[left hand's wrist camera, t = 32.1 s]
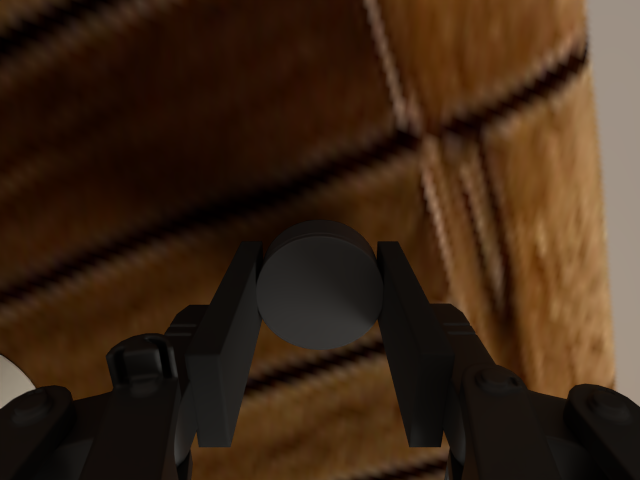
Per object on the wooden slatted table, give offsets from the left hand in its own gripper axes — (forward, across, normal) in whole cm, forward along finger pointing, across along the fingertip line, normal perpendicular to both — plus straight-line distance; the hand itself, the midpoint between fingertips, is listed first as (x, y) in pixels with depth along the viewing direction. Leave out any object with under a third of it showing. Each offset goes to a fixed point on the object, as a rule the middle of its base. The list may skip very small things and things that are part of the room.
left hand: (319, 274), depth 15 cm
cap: (-1, 0, 0) cm, 1 cm away
